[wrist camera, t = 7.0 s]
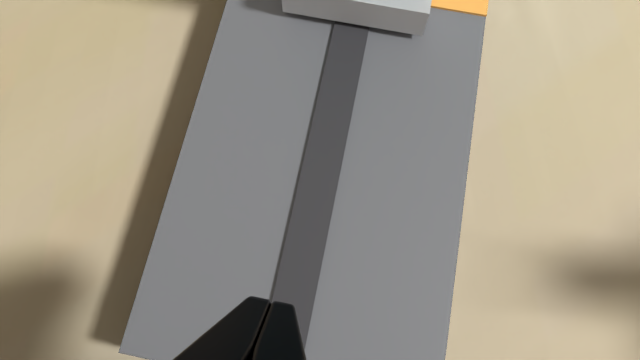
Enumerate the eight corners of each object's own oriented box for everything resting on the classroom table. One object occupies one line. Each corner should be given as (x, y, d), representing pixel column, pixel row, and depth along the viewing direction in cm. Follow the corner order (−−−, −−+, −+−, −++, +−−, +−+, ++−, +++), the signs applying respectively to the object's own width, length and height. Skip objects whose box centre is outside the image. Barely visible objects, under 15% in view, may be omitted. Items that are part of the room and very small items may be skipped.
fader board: (426, 414, 15) (438, 423, 13) (137, 351, 15) (116, 352, 14) (480, -22, 20) (494, -52, 18) (258, -59, 20) (254, -91, 19)
